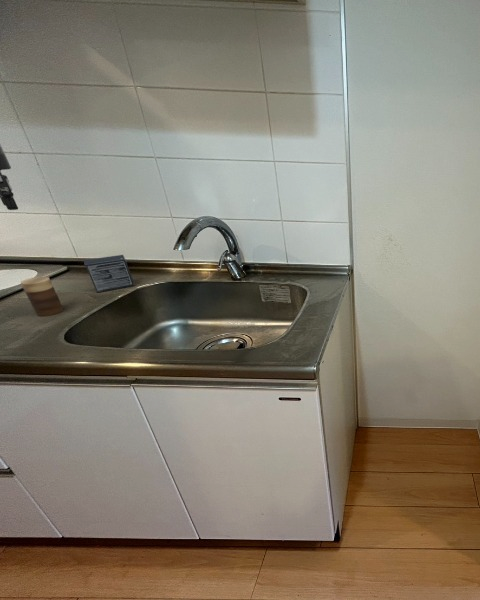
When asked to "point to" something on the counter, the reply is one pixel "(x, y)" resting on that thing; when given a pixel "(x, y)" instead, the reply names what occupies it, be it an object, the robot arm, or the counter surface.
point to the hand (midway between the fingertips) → (11, 207)
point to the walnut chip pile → (45, 302)
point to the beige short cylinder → (36, 284)
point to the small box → (109, 273)
